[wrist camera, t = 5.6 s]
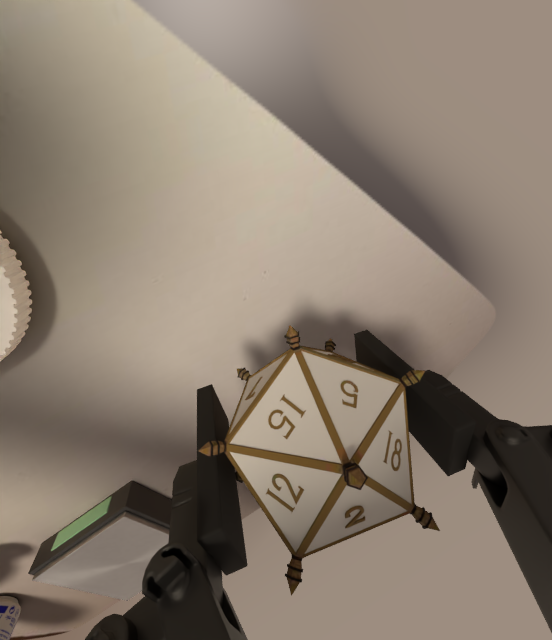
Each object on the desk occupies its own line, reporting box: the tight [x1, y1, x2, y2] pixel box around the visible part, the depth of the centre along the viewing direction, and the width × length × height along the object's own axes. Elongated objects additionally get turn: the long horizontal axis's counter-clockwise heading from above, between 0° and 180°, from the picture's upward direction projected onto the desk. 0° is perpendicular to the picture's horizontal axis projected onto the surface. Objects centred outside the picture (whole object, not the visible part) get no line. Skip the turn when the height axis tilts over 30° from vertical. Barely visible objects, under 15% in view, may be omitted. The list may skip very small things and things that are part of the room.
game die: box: [198, 326, 439, 595], centre depth 11 cm, size 9×8×10 cm
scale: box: [28, 481, 172, 575], centre depth 29 cm, size 12×12×2 cm
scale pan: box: [32, 511, 170, 601], centre depth 27 cm, size 11×11×1 cm
